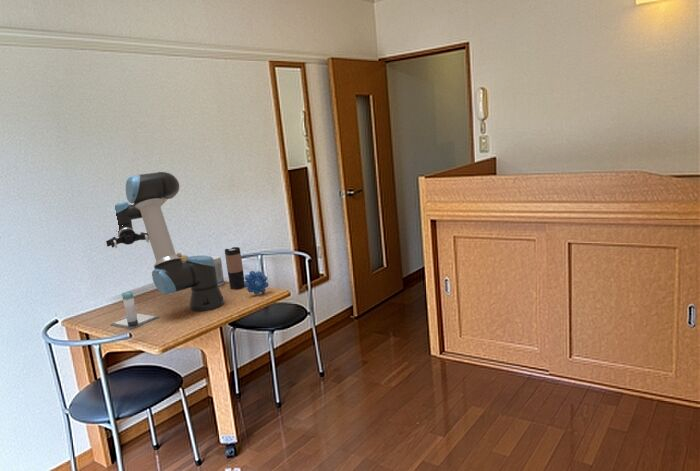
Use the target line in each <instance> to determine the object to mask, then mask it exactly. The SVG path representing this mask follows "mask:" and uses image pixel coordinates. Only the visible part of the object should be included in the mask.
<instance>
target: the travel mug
mask: <svg viewBox="0 0 700 471" xmlns="http://www.w3.org/2000/svg"><path fill="white" fill-rule="evenodd" d="M224 255H225V261H226V264H225V265H226V271H227V276H228V281H229V282H228V283H229V287H230V289H231V290H233V291H234V290H239V289H243V288H245V287H246V286H245V285H244V282H245V274H244V267H243V261H242V253H241V248H240V247H239V246H238V247H237V246H235V247H234V246H233V247H231V248H225V249H224Z"/></svg>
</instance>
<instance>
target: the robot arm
mask: <svg viewBox="0 0 700 471" xmlns="http://www.w3.org/2000/svg"><path fill="white" fill-rule="evenodd" d="M179 191H180V183H179V180H178V179H177V177H175V176H174V174H172V173H170V172H167V171H166V172H165V171H158V172H151V173H150V172H149V173H142V174H136V175H131V176H129V177H127V179H126V182H125V195H126V199H127V201H122V202H123V203H118V202H116V203H117V204H116V205H115V210H116V216H117V220H118V225H119V231H118V236H113V237H111V238H110V239H108V240H106V241H105V242H106V247H110V246H111V248H115V249H118V245H120V244H124V245H128V246H129V245H132V244H134V243H135V242H138V241H145V242H147V243H150V246H151V248H152V249H151V250H152V251H153V255H154V258H155V263H154V265H153V267H154V269H153V270H152V271H151V276H152V277H151V278H152V282H153V284H154V286H155V287H156V289H157V291H159V293H161V294H162V295H169V294H174V293H177V292H180V291H183V290H187V289H191V294H190V295H191V296H190V301H189V308H190V310H191V311H194V312H203V311H209V310H213V309H217V308H219V307H221V306H223V305H224V304H225V299H224V298H225V297H224V296H223V294H222V292H221V290H220V288H219V286H218V284H217V277H216V270H215V264H214V260H213V258H212V257H210V256H211V255H191V256H188V257H187V259H186V261H187V262H183V263H182V260H181V258H180V257H178V256H176V255H177V253H176V251H175V250H176V249H175V247H174V244H173V242H172V241H173V240H172V239H171V238H172V237H171V235H170V232H169V229H168V226H167V222H166V220H165V216H164V214H163V211H162V206H163V205H164V204H165V203H166V202H167V201H168V200H170V199H173V198H175V196H176V195H177V194H178V193H179ZM131 204H133V205H131ZM137 219H142V220H143V221H142V222H143V223H144V224H143V225H144V227H145V230H146V232H142V231H141V232H140V233H136V232H135V231H134V226H133V222H132V220H137ZM122 225H123V226H122ZM118 237H119V238H118Z"/></svg>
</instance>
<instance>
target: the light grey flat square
mask: <svg viewBox="0 0 700 471" xmlns="http://www.w3.org/2000/svg"><path fill="white" fill-rule="evenodd" d="M136 314H137V320H138V324H137V325H135V326H128V323H127V317H126V316H123V317H121V318H119V320H117V321H115V322H112V323H110V326H112V327H117V328H123V329H128V330H133V329H135V328H137V327H140V326H143V325H144V324H147V323H149V322H152V321H154V320H157V319H159V318H160V316H159V315H154V314H147V313H141V312H136Z"/></svg>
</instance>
